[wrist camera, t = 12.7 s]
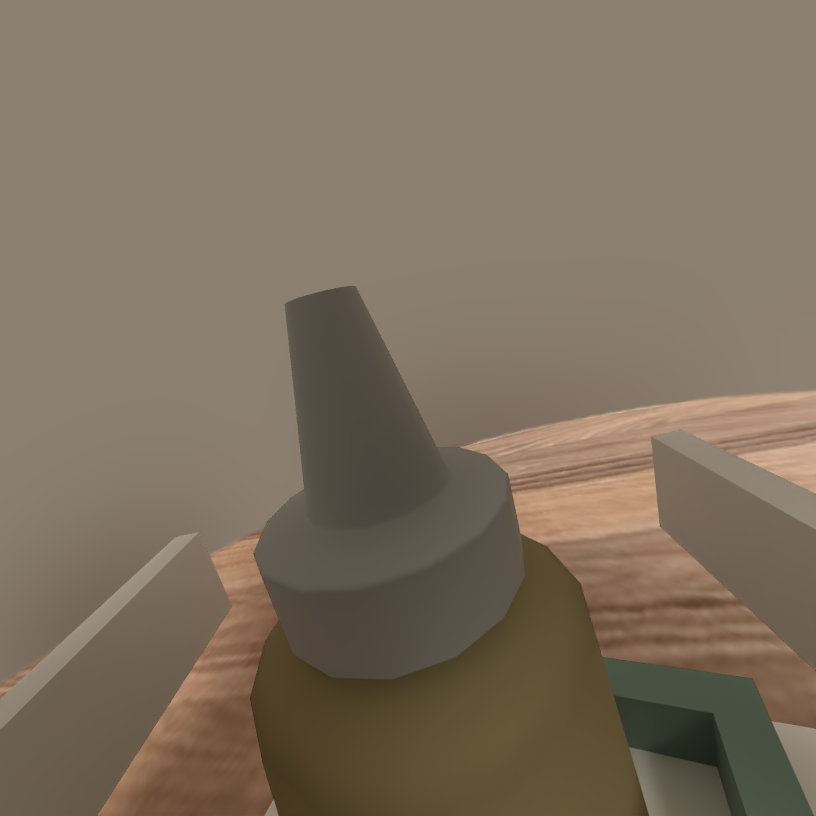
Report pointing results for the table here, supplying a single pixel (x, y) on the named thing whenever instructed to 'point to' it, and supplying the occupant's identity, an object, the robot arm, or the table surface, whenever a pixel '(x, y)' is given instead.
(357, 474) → the squeeze bottle
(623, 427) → the table surface
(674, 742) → the collar stand
